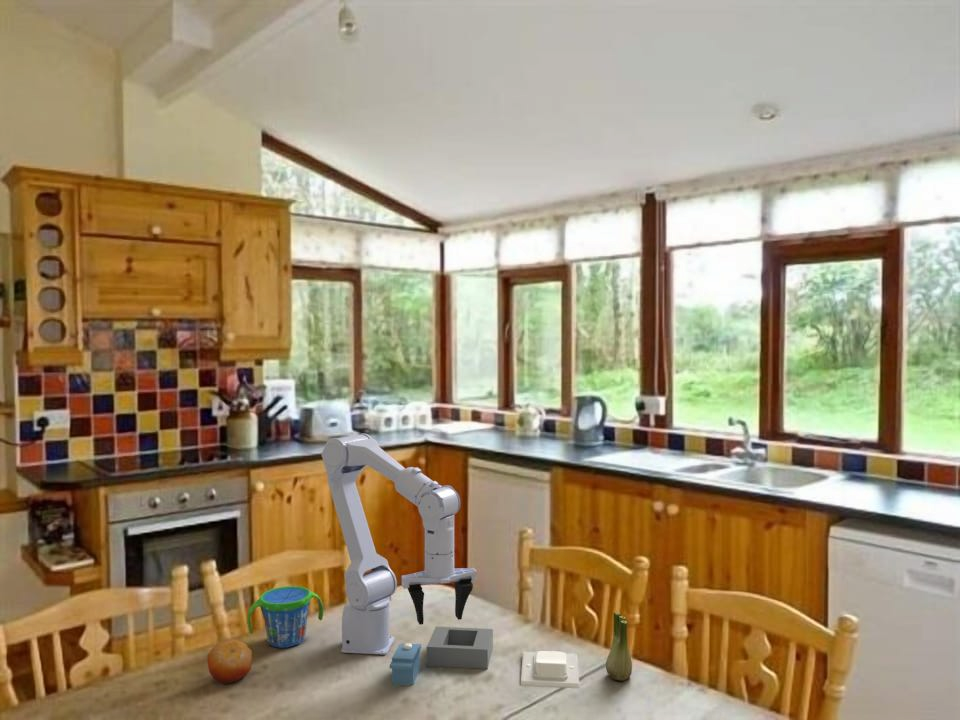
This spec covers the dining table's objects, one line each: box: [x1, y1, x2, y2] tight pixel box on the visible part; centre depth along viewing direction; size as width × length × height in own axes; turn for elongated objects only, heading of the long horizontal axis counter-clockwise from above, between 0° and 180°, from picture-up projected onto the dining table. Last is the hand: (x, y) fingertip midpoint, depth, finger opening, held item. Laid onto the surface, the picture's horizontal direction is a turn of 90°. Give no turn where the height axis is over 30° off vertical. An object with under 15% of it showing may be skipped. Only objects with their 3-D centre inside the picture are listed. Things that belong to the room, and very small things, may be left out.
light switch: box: [519, 650, 580, 689], centre depth 142 cm, size 11×4×13 cm
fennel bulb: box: [605, 610, 633, 682], centre depth 139 cm, size 6×5×12 cm
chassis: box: [426, 625, 494, 670], centre depth 149 cm, size 12×10×4 cm
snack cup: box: [246, 585, 324, 649], centre depth 156 cm, size 16×10×10 cm
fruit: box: [206, 638, 253, 685], centre depth 140 cm, size 8×8×8 cm
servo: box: [389, 642, 422, 686], centre depth 140 cm, size 4×10×6 cm, turn 173°
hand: (439, 620), depth 143 cm, fingers open, 7 cm apart
